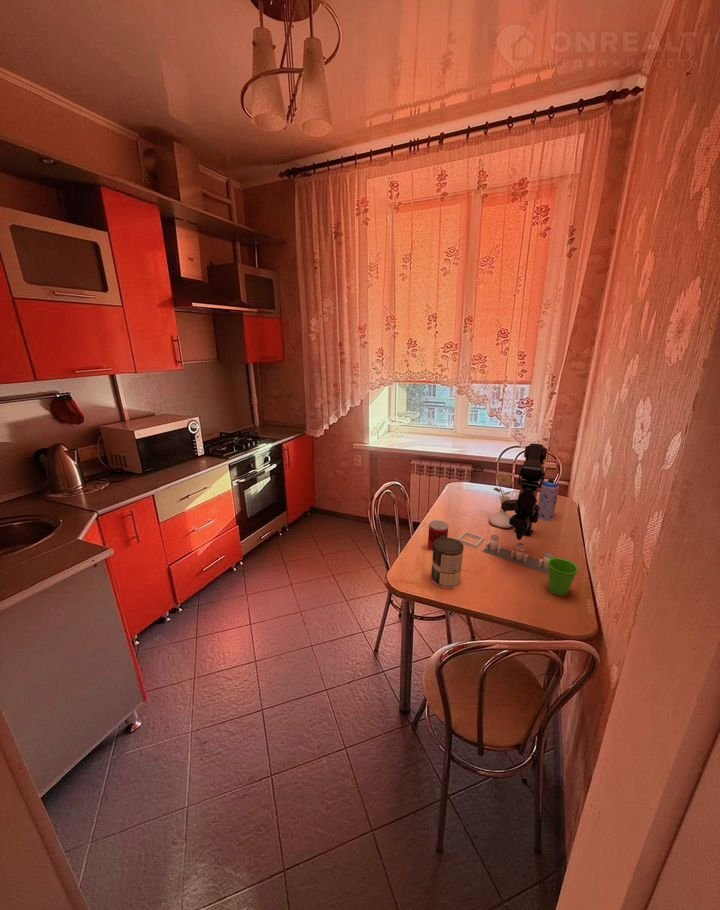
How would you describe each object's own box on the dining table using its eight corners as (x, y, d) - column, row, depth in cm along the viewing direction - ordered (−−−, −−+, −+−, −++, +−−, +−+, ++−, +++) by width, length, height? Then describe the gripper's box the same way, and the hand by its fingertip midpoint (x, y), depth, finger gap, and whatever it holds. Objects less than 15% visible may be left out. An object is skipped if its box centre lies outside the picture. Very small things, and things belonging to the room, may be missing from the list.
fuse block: (489, 545, 151) (489, 538, 150) (557, 568, 135) (559, 560, 134) (482, 553, 145) (482, 546, 144) (552, 578, 129) (554, 570, 128)
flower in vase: (519, 527, 166) (527, 477, 159) (500, 532, 162) (507, 480, 155) (499, 516, 178) (505, 468, 171) (480, 519, 174) (486, 471, 167)
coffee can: (425, 580, 128) (427, 545, 124) (439, 567, 135) (441, 534, 131) (452, 592, 122) (455, 556, 117) (465, 578, 129) (468, 543, 125)
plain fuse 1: (490, 547, 148) (492, 534, 146) (498, 549, 146) (500, 536, 144) (488, 550, 145) (489, 537, 144) (495, 552, 144) (497, 539, 142)
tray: (464, 535, 159) (465, 531, 158) (483, 542, 153) (484, 537, 153) (456, 543, 152) (456, 538, 151) (476, 550, 147) (476, 545, 146)
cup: (562, 584, 126) (568, 557, 123) (578, 602, 117) (584, 573, 114) (537, 585, 126) (542, 557, 123) (551, 602, 117) (557, 573, 114)
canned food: (432, 555, 144) (434, 530, 141) (424, 544, 151) (425, 521, 148) (450, 552, 146) (452, 528, 143) (440, 542, 153) (442, 519, 150)
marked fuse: (515, 555, 142) (517, 542, 140) (524, 558, 140) (526, 544, 138) (513, 559, 140) (515, 545, 138) (521, 561, 138) (524, 548, 136)
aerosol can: (552, 522, 171) (559, 483, 166) (534, 518, 175) (541, 480, 170) (554, 516, 178) (561, 478, 172) (537, 512, 182) (543, 475, 176)
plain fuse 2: (543, 564, 136) (545, 550, 134) (552, 567, 134) (554, 553, 132) (541, 568, 134) (543, 554, 132) (550, 571, 132) (553, 557, 130)
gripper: (512, 484, 144) (508, 519, 149) (497, 499, 130) (492, 537, 135) (542, 491, 138) (537, 528, 142) (529, 507, 124) (523, 547, 128)
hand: (522, 534), depth 137 cm, fingers open, 9 cm apart
